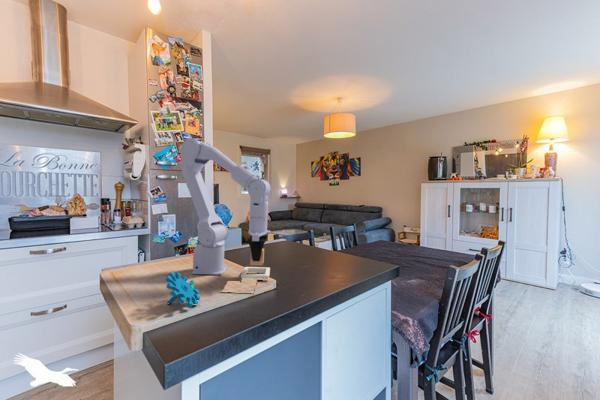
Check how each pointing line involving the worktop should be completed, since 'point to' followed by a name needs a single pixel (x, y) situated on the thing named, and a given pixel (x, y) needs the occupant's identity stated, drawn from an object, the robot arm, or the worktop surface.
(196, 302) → the teal spiky cog
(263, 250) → the light brown wooden cube
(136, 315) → the worktop surface
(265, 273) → the socket
